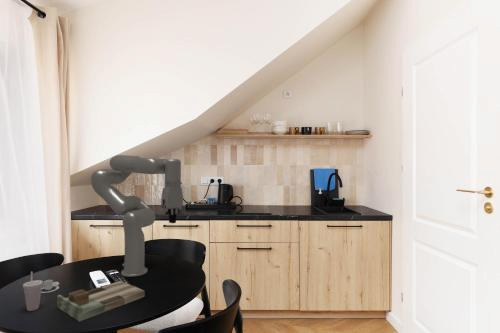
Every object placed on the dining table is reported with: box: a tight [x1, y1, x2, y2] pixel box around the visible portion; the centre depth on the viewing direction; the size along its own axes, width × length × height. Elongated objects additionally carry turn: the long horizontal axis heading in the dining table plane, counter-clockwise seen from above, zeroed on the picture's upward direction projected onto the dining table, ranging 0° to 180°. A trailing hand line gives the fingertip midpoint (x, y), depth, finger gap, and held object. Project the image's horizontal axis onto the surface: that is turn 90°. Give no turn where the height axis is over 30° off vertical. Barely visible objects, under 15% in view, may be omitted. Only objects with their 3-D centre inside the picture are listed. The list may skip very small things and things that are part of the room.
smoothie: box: [22, 271, 44, 312], centre depth 117 cm, size 6×6×14 cm
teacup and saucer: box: [41, 279, 60, 294], centre depth 135 cm, size 9×8×4 cm
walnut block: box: [68, 289, 89, 306], centre depth 116 cm, size 5×5×4 cm
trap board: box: [56, 280, 146, 323], centre depth 123 cm, size 18×26×4 cm
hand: (172, 222), depth 148 cm, fingers closed
